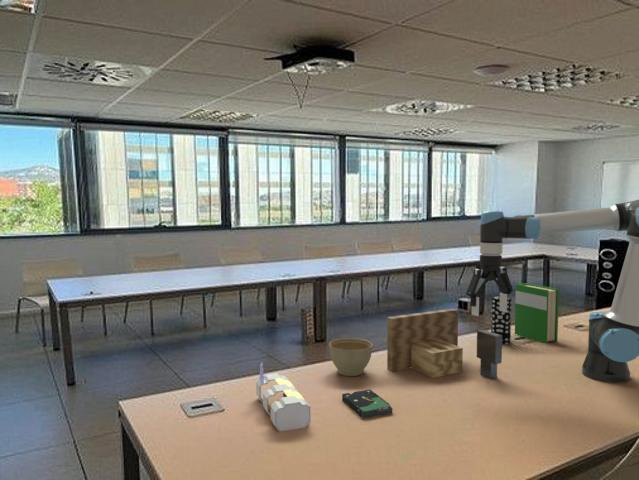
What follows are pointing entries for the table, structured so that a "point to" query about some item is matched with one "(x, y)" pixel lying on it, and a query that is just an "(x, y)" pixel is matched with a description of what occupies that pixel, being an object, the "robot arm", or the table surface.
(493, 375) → the grey slab
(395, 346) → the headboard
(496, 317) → the spotted tube
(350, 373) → the planter bowl
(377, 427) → the table surface
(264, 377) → the white yellow segmented bar
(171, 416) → the table surface
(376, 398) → the disk drive
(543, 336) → the hardback book
